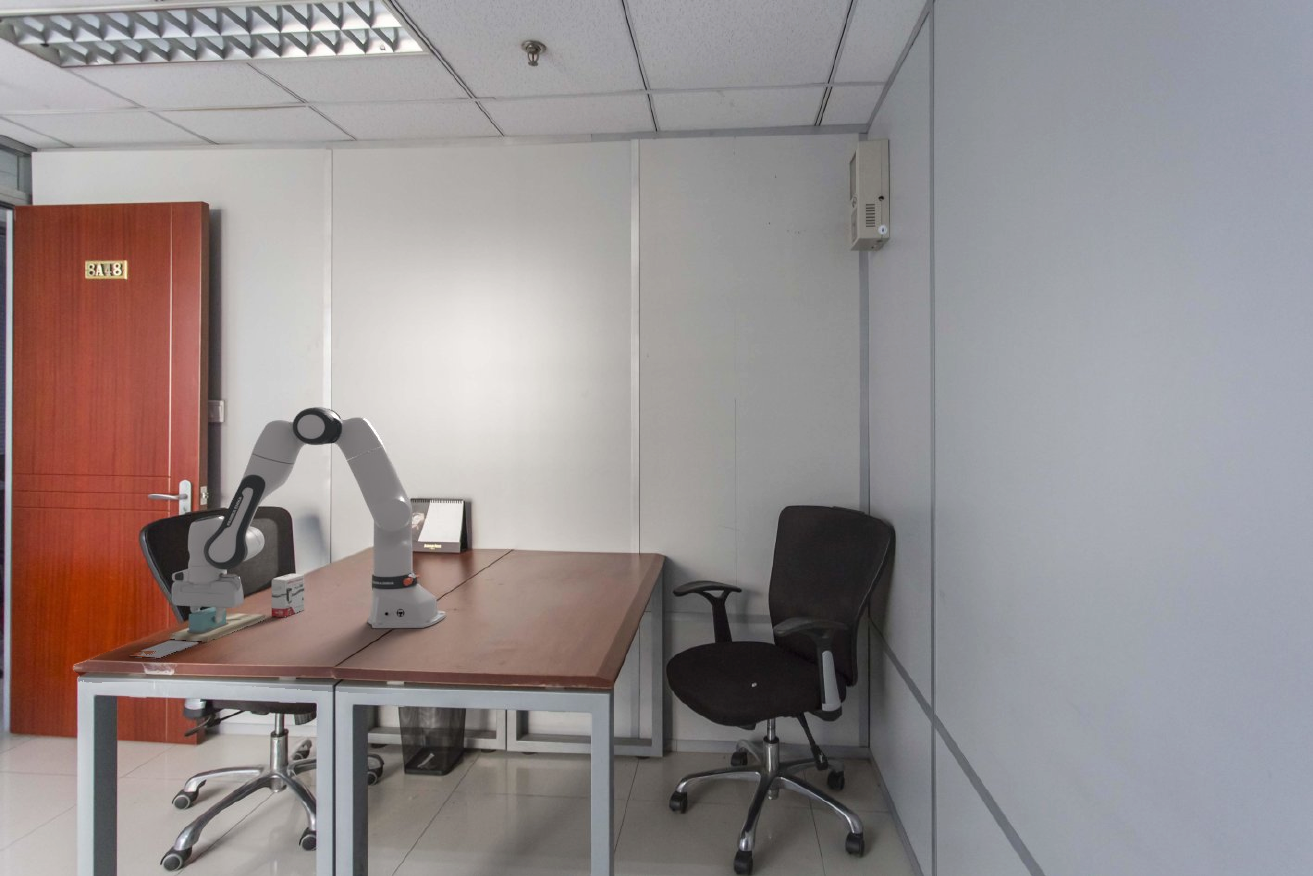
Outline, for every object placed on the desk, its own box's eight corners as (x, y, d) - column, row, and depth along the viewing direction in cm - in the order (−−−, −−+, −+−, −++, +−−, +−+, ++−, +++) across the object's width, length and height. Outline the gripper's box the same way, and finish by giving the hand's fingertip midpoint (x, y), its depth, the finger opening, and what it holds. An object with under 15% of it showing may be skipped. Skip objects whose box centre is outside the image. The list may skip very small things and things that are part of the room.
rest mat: (198, 643, 165) (198, 642, 165) (159, 658, 154) (159, 657, 154) (169, 641, 166) (169, 640, 166) (128, 656, 156) (128, 655, 156)
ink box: (284, 618, 188) (284, 580, 188) (270, 617, 189) (270, 579, 189) (305, 610, 196) (305, 573, 196) (292, 609, 197) (292, 573, 197)
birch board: (265, 619, 186) (265, 614, 186) (207, 642, 166) (207, 636, 166) (230, 617, 188) (230, 612, 188) (169, 639, 168) (169, 634, 168)
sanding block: (227, 624, 176) (227, 607, 176) (202, 633, 169) (202, 615, 168) (212, 623, 177) (212, 606, 177) (187, 632, 169) (187, 614, 169)
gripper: (249, 571, 174) (249, 619, 175) (187, 569, 177) (187, 616, 178) (230, 577, 168) (231, 626, 168) (166, 574, 171) (167, 623, 171)
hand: (208, 621), depth 173 cm, fingers closed on sanding block, 4 cm apart
